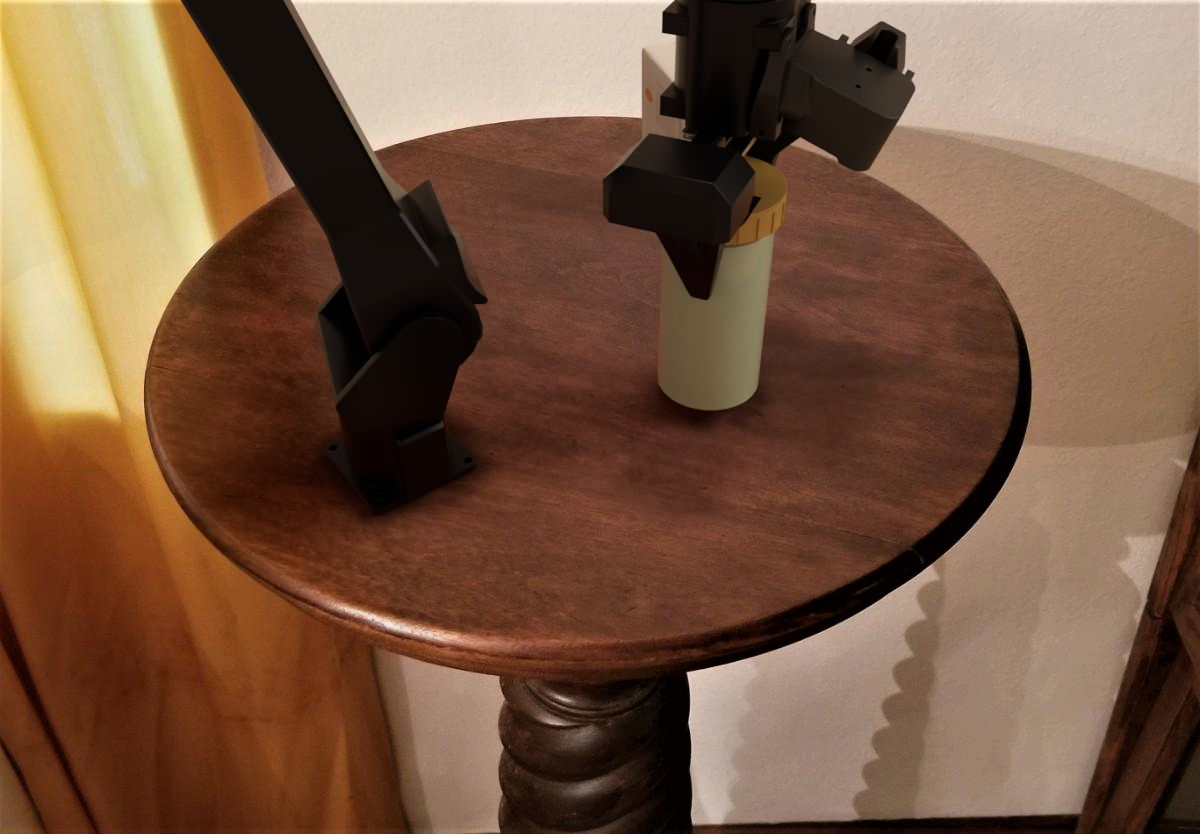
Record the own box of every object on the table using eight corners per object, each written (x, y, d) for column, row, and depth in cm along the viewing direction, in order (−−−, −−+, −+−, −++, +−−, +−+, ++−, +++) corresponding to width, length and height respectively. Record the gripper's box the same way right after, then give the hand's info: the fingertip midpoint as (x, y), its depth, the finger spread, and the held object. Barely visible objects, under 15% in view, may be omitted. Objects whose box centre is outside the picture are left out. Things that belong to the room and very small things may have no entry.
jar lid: (660, 247, 58) (661, 218, 57) (650, 180, 63) (651, 152, 62) (795, 244, 58) (798, 215, 57) (774, 178, 64) (777, 150, 62)
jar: (636, 371, 69) (641, 186, 61) (713, 336, 71) (727, 153, 63) (701, 424, 65) (715, 234, 57) (779, 385, 68) (803, 198, 60)
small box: (747, 214, 85) (758, 78, 78) (676, 227, 83) (680, 90, 76) (706, 164, 90) (713, 34, 84) (639, 176, 89) (640, 44, 82)
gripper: (861, 90, 44) (815, 404, 54) (955, -60, 57) (904, 216, 67) (595, 45, 47) (599, 348, 57) (740, -87, 60) (723, 179, 70)
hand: (719, 267), depth 63 cm, fingers closed on jar, jar lid, 6 cm apart
